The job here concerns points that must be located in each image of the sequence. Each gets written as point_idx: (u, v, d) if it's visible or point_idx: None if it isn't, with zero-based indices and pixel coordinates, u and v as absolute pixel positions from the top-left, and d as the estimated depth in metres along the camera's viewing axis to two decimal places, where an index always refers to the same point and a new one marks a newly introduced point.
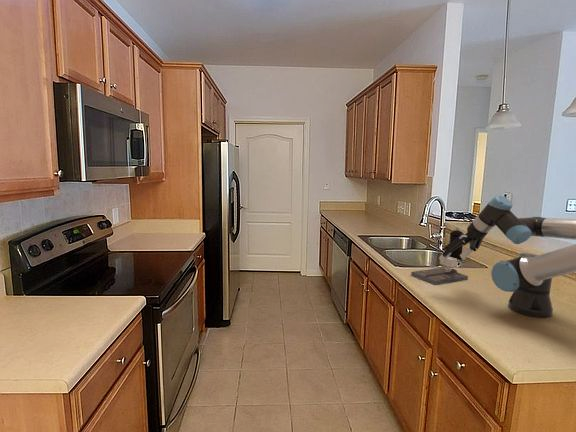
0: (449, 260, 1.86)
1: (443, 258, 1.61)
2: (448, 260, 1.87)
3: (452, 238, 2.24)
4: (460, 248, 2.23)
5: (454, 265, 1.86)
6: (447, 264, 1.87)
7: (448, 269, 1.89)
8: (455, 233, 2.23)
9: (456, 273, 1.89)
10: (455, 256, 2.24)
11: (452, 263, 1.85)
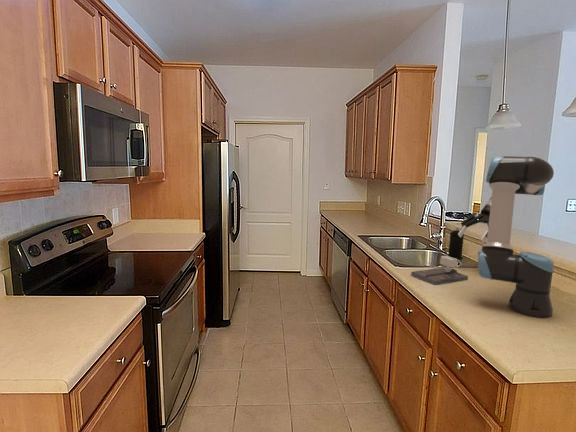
0: (449, 260, 1.86)
1: None
2: (448, 260, 1.87)
3: (452, 238, 2.24)
4: (460, 248, 2.23)
5: (454, 265, 1.86)
6: (447, 264, 1.87)
7: (448, 269, 1.89)
8: (455, 233, 2.23)
9: (456, 273, 1.89)
10: (455, 256, 2.24)
11: (452, 263, 1.85)
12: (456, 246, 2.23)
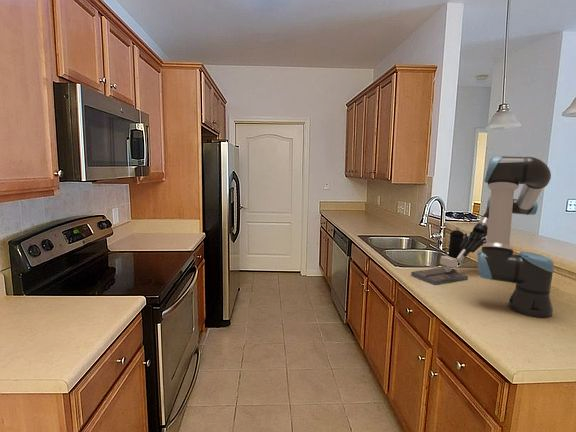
0: (449, 260, 1.86)
1: None
2: (448, 260, 1.87)
3: (452, 238, 2.24)
4: (460, 248, 2.23)
5: (454, 265, 1.86)
6: (447, 264, 1.87)
7: (448, 269, 1.89)
8: (455, 233, 2.23)
9: (456, 273, 1.89)
10: (455, 256, 2.24)
11: (452, 263, 1.85)
12: (456, 246, 2.23)
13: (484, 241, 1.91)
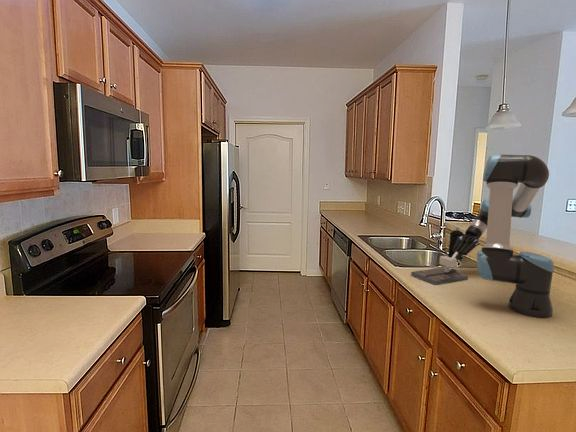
0: (448, 260, 1.86)
1: None
2: (447, 260, 1.87)
3: (452, 238, 2.24)
4: None
5: (453, 265, 1.86)
6: (446, 264, 1.87)
7: (447, 269, 1.89)
8: (455, 233, 2.23)
9: (456, 273, 1.89)
10: None
11: (451, 263, 1.85)
12: None
13: (476, 244, 1.89)
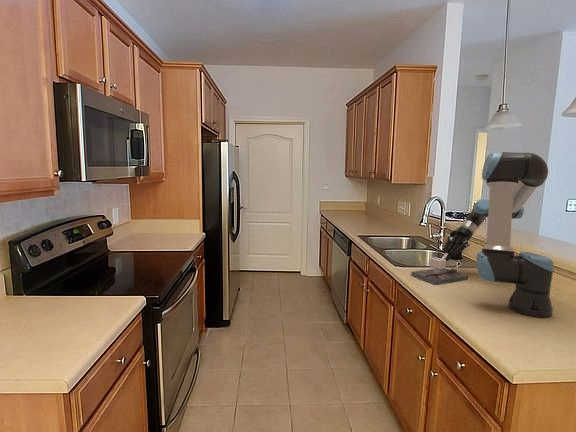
0: (438, 261, 1.83)
1: None
2: (437, 261, 1.83)
3: None
4: None
5: (443, 267, 1.83)
6: (436, 266, 1.84)
7: (437, 271, 1.86)
8: (455, 233, 2.23)
9: (456, 273, 1.89)
10: None
11: (441, 265, 1.82)
12: None
13: (466, 245, 1.86)
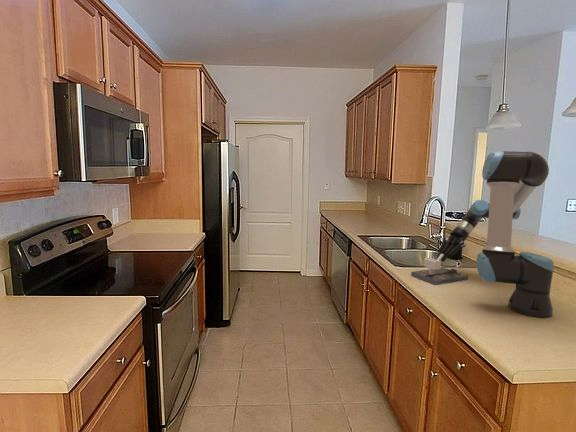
0: (432, 262, 1.81)
1: None
2: (431, 262, 1.82)
3: None
4: None
5: (437, 267, 1.81)
6: (430, 266, 1.82)
7: (431, 271, 1.84)
8: None
9: (456, 273, 1.89)
10: (455, 256, 2.24)
11: (435, 265, 1.80)
12: None
13: (462, 246, 1.84)
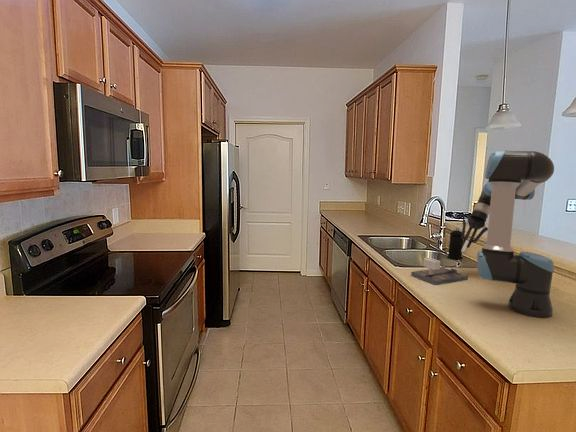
0: (432, 262, 1.81)
1: (462, 248, 1.89)
2: (431, 262, 1.82)
3: (452, 238, 2.24)
4: (460, 248, 2.23)
5: (437, 267, 1.81)
6: (430, 266, 1.82)
7: (431, 271, 1.84)
8: (455, 233, 2.23)
9: (456, 273, 1.89)
10: (455, 256, 2.24)
11: (435, 265, 1.80)
12: (456, 246, 2.23)
13: (485, 231, 1.88)
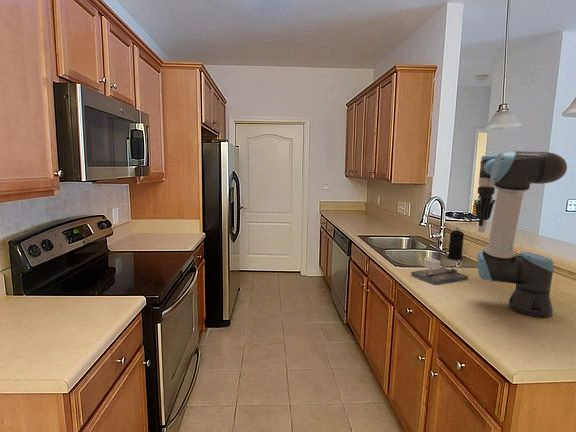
0: (432, 262, 1.81)
1: (481, 228, 1.85)
2: (431, 262, 1.82)
3: (452, 238, 2.24)
4: (460, 248, 2.23)
5: (437, 267, 1.81)
6: (430, 266, 1.82)
7: (431, 271, 1.84)
8: (455, 233, 2.23)
9: (456, 273, 1.89)
10: (455, 256, 2.24)
11: (435, 265, 1.80)
12: (456, 246, 2.23)
13: None
